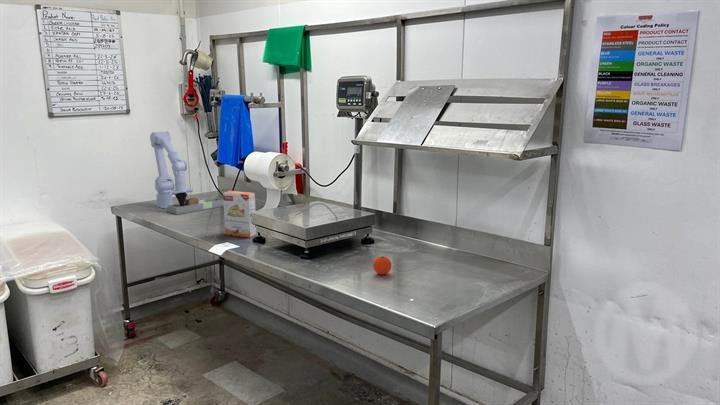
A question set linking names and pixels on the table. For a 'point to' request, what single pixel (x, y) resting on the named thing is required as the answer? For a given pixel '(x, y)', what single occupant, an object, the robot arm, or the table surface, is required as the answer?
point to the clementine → (382, 265)
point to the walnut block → (191, 201)
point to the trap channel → (196, 206)
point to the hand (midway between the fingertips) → (181, 206)
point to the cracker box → (239, 213)
